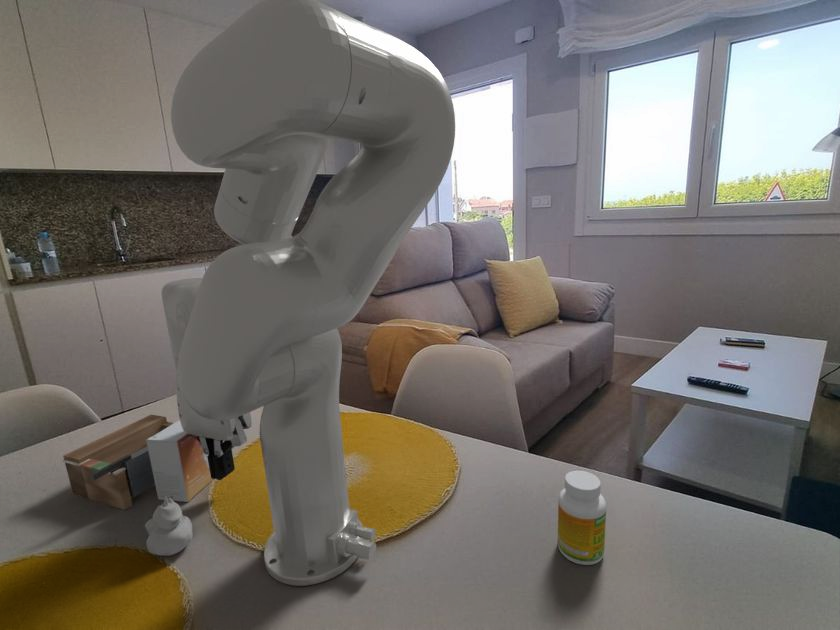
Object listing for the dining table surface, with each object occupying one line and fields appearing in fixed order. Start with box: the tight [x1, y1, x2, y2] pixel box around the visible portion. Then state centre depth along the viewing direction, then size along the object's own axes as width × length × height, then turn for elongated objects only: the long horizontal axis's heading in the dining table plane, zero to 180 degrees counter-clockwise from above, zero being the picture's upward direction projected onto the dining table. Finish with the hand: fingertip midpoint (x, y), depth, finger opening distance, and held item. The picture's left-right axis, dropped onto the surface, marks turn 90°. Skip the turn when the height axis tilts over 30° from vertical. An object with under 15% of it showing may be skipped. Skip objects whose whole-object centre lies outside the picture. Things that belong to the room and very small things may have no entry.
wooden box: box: [62, 414, 174, 510], centre depth 74 cm, size 12×16×7 cm
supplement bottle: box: [557, 470, 607, 566], centre depth 52 cm, size 5×5×10 cm
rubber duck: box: [144, 497, 193, 557], centre depth 57 cm, size 5×7×8 cm
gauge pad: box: [90, 447, 155, 498], centre depth 70 cm, size 3×16×6 cm, turn 158°
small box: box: [146, 418, 214, 503], centre depth 70 cm, size 8×6×10 cm
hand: (223, 474), depth 67 cm, fingers closed
